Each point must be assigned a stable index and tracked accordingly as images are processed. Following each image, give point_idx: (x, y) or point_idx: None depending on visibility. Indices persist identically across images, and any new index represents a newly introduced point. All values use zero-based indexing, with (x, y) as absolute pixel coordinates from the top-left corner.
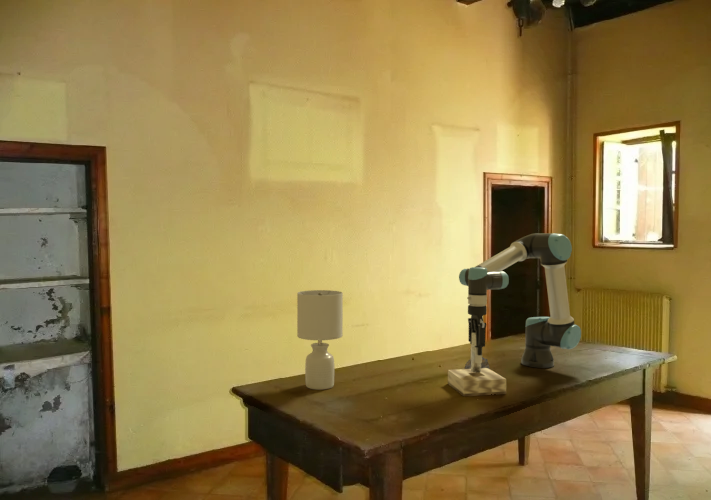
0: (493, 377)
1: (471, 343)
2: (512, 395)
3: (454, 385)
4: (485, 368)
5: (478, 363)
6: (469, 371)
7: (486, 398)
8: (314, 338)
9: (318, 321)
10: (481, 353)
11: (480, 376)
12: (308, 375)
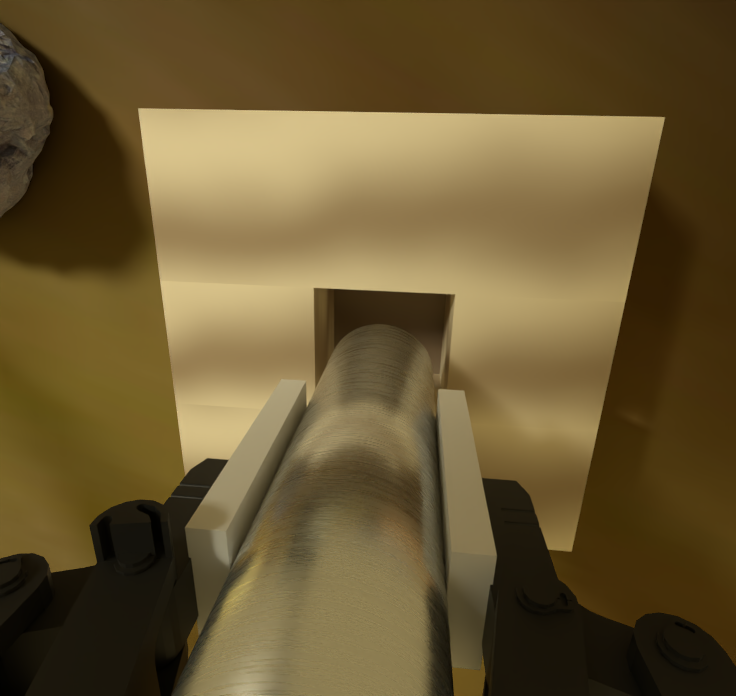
0: (547, 240)
1: (186, 650)
2: (663, 89)
3: None
4: (156, 146)
5: (435, 419)
6: (265, 372)
7: (647, 350)
8: None
9: None
10: (532, 510)
11: (467, 353)
12: None
